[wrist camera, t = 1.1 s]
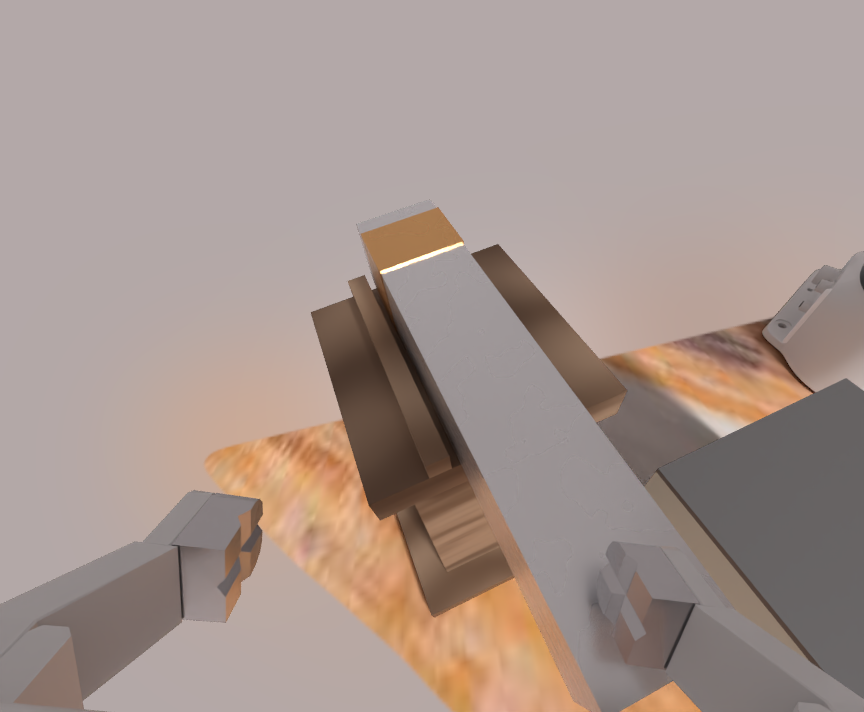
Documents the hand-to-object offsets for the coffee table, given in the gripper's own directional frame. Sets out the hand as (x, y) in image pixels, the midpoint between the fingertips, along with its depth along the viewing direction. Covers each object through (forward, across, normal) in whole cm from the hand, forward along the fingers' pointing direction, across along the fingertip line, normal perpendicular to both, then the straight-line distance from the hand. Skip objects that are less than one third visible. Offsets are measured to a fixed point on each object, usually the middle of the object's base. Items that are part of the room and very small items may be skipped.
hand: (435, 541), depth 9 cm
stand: (+26, -7, +19) cm, 34 cm away
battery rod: (+9, -2, 0) cm, 9 cm away
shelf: (+20, -30, +17) cm, 40 cm away
